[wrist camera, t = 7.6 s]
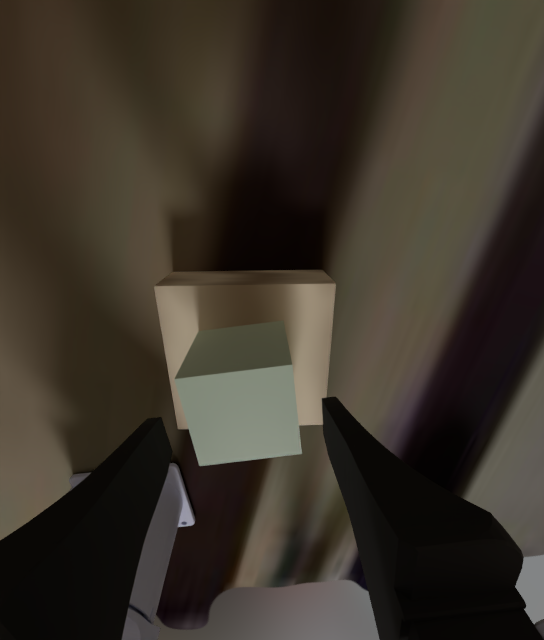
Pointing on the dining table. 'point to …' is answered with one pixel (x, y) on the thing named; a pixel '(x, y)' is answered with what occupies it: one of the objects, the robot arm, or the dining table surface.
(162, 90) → the dining table surface
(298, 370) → the birch base
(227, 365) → the sage cube
